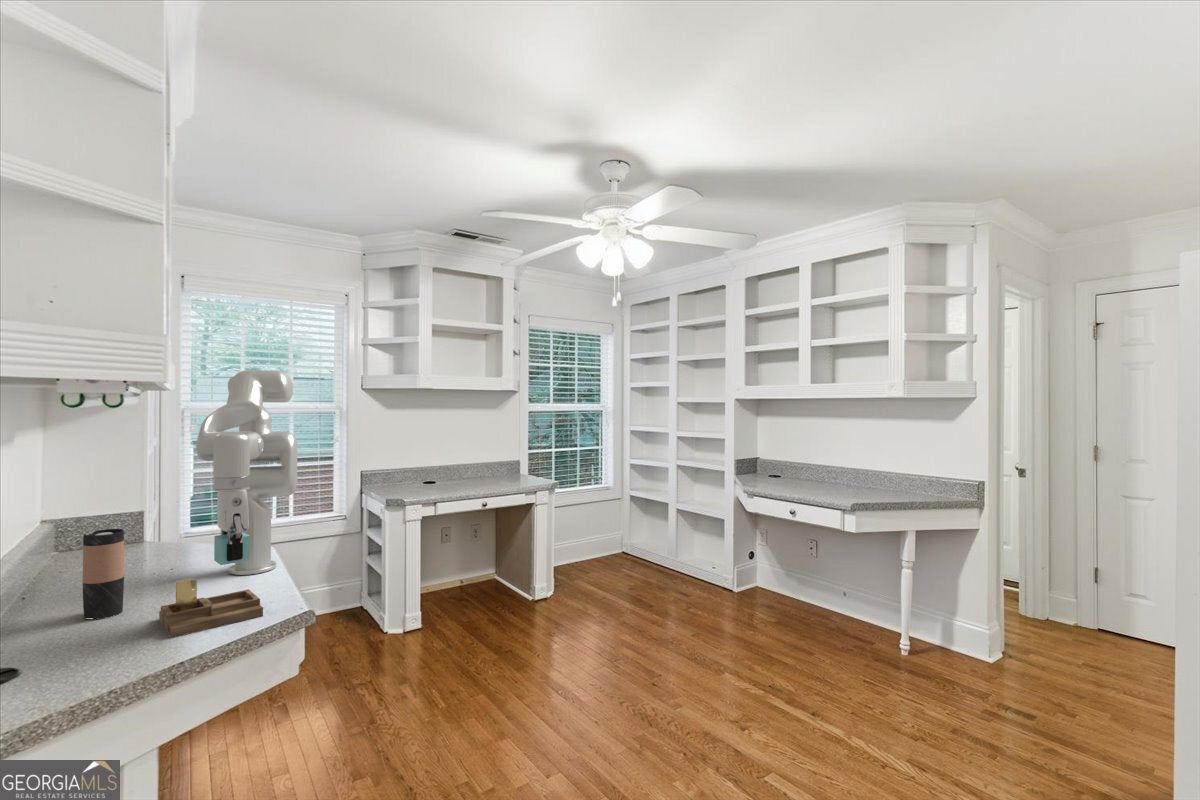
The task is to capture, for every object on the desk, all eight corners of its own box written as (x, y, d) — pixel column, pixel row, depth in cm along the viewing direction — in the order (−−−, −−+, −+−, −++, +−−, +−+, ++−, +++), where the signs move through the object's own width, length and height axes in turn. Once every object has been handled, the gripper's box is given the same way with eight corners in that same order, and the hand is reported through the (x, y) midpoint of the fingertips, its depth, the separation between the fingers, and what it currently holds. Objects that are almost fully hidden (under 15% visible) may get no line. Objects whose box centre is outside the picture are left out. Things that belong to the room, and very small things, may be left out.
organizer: (158, 619, 135) (158, 602, 135) (245, 600, 148) (246, 585, 148) (169, 638, 124) (169, 619, 124) (262, 615, 137) (263, 599, 137)
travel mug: (125, 614, 138) (125, 532, 138) (83, 623, 133) (83, 537, 133) (122, 606, 143) (123, 527, 143) (81, 614, 138) (82, 532, 138)
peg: (174, 614, 133) (174, 580, 133) (195, 610, 135) (195, 576, 135) (177, 619, 130) (177, 584, 130) (198, 614, 133) (198, 580, 133)
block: (214, 560, 139) (214, 535, 139) (242, 555, 143) (242, 532, 143) (220, 565, 135) (221, 539, 135) (249, 560, 139) (249, 535, 139)
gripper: (259, 485, 136) (258, 561, 135) (239, 479, 148) (239, 548, 148) (222, 489, 130) (221, 567, 130) (205, 482, 142) (204, 553, 142)
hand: (231, 556), depth 139 cm, fingers closed on block, 6 cm apart
